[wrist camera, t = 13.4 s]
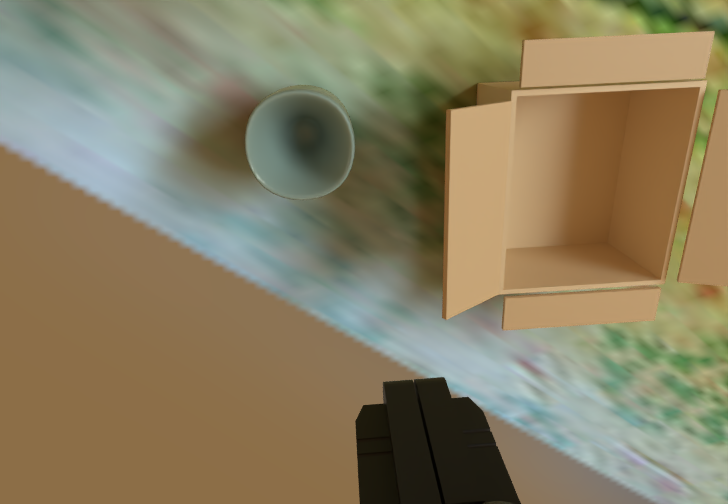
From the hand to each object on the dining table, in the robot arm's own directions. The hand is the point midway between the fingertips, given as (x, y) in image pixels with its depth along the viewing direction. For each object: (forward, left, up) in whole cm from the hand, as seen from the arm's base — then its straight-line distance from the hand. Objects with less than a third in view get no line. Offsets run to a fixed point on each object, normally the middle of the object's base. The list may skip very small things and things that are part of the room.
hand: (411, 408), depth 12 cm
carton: (+3, +18, -35) cm, 39 cm away
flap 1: (+3, +8, -23) cm, 24 cm away
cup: (-2, -4, -35) cm, 35 cm away
